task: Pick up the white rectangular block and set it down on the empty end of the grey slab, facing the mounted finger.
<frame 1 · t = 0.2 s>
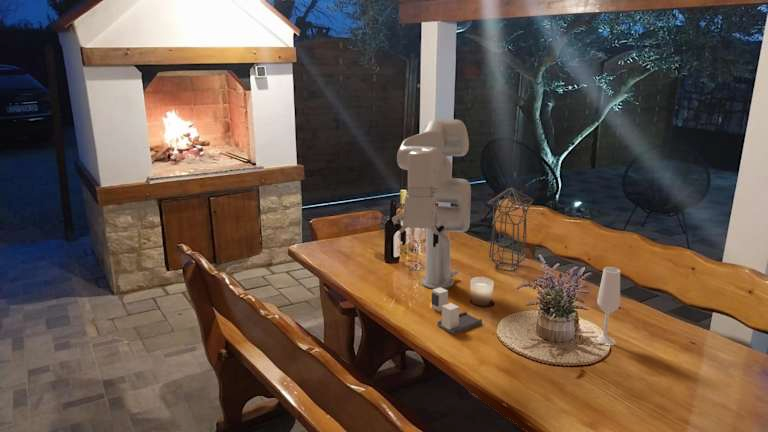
hand: (419, 244, 181), 31 cm above the table, tool pointing down, fingers open, 9 cm apart
geometric lantern: (506, 268, 247), on the table
grey slab: (459, 324, 195), on the table
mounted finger: (449, 328, 193), resting on grey slab
white rectangular block: (439, 308, 208), on the table
champagne flute: (604, 341, 184), on the table
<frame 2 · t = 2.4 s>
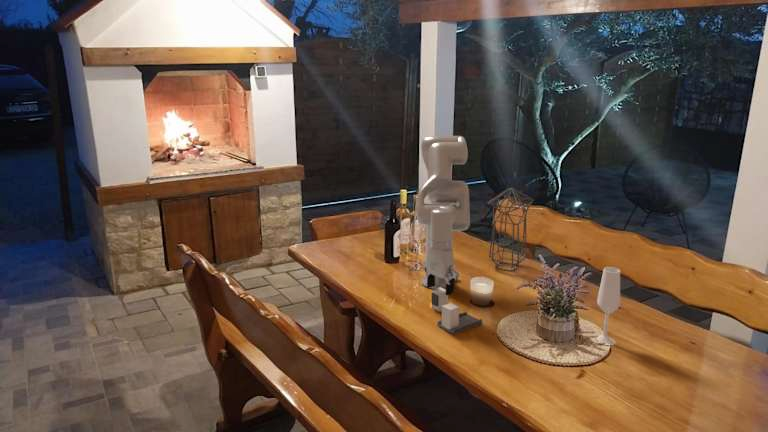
hand: (440, 290, 205), 7 cm above the table, tool pointing down, fingers open, 9 cm apart
nothing on the table moved.
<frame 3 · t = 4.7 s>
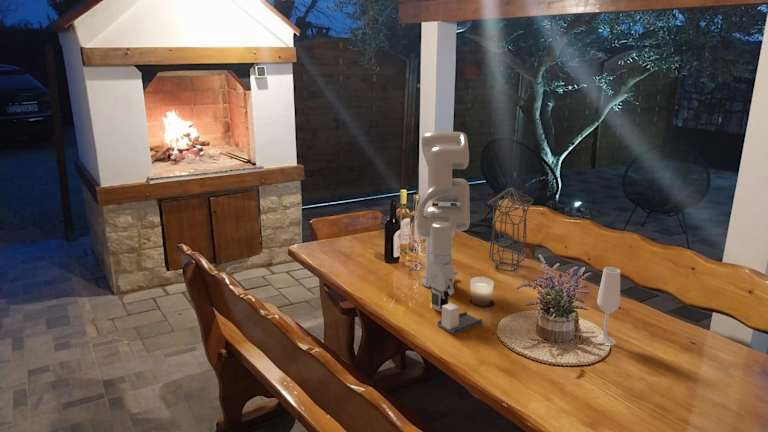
hand: (439, 304, 208), 1 cm above the table, tool pointing down, fingers closed on white rectangular block, 3 cm apart
white rectangular block: (440, 308, 208), on the table, touching gripper
everything else where it was.
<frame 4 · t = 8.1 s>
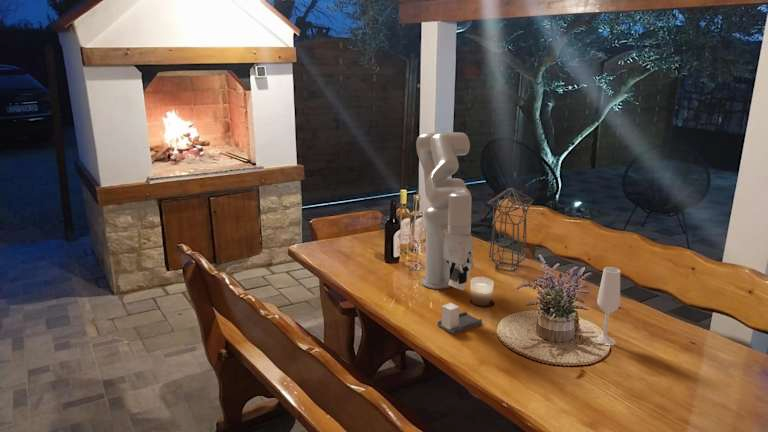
hand: (458, 280, 197), 14 cm above the table, tool pointing down, fingers closed on white rectangular block, 3 cm apart
white rectangular block: (455, 287, 197), point 11 cm above the table, tilted 26°, touching gripper
everything else where it was.
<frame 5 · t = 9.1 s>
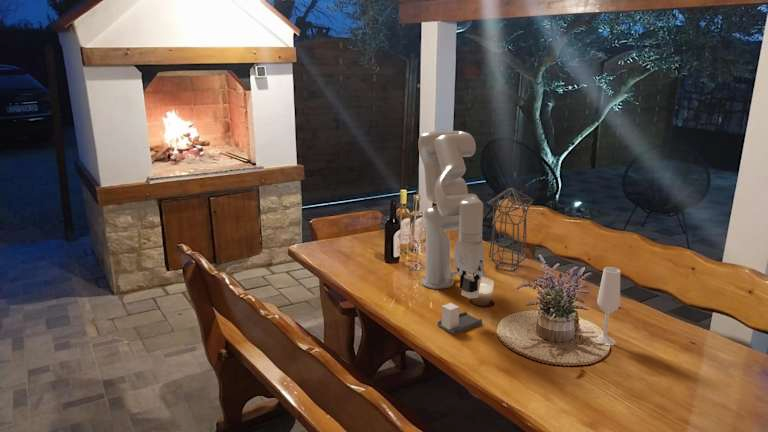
hand: (468, 288, 194), 12 cm above the table, tool pointing down, fingers closed on white rectangular block, 3 cm apart
white rectangular block: (469, 296, 195), point 9 cm above the table, tilted 10°, touching gripper
everything else where it was.
when the fingers open (4 cm above the table, at t = 11.0 s): white rectangular block stays where it is, resting on grey slab.
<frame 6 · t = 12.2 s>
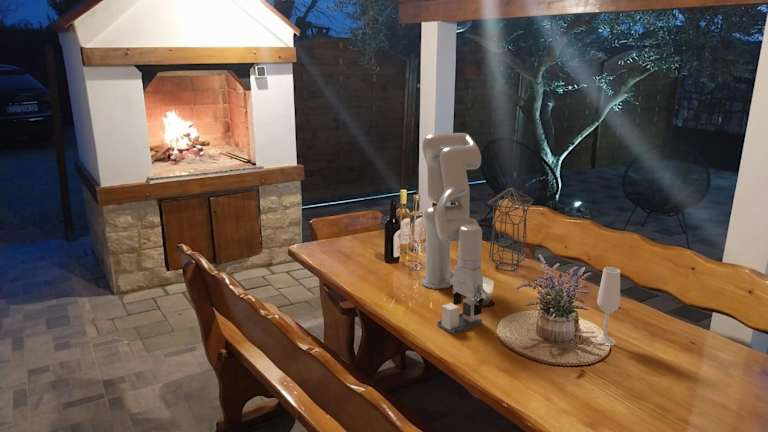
hand: (467, 309, 196), 5 cm above the table, tool pointing down, fingers open, 9 cm apart
white rectangular block: (471, 318, 198), point 1 cm above the table, touching grey slab
everything else where it was.
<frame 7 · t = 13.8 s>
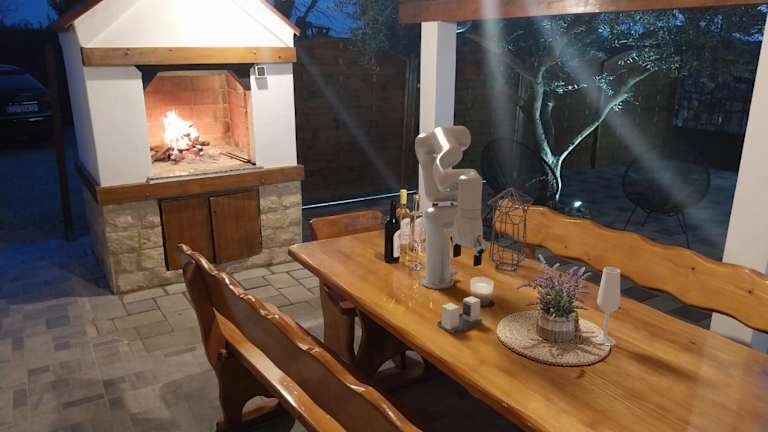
hand: (466, 261, 194), 21 cm above the table, tool pointing down, fingers open, 9 cm apart
nothing on the table moved.
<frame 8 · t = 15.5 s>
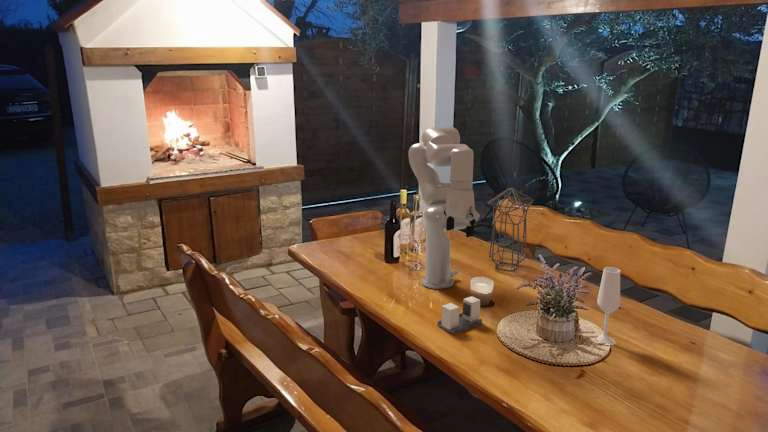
hand: (459, 233, 200), 28 cm above the table, tool pointing down, fingers open, 9 cm apart
nothing on the table moved.
at the end: white rectangular block 1.5 cm from the target spot on the grey slab, point 1.0 cm above the grey slab's base; white rectangular block tilted 0°; the gripper is holding nothing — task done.
